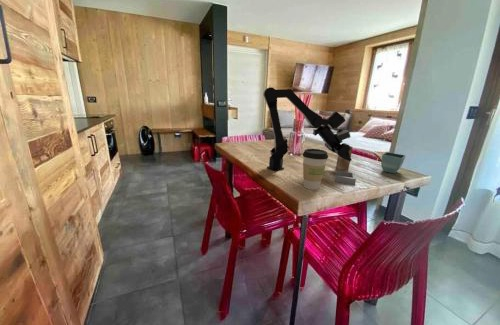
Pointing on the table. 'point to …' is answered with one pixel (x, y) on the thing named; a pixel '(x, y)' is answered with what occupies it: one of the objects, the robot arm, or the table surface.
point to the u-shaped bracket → (345, 177)
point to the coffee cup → (313, 167)
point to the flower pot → (392, 162)
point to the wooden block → (343, 162)
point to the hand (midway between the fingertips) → (346, 158)
